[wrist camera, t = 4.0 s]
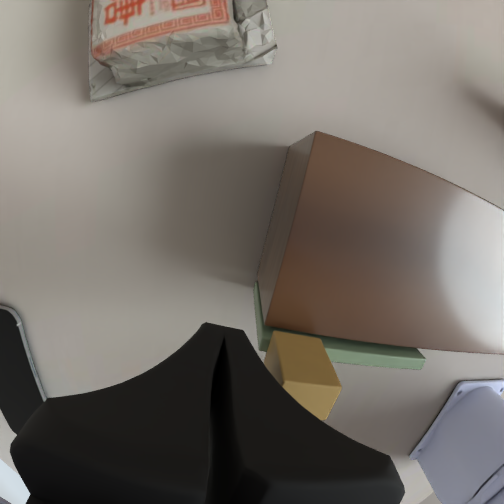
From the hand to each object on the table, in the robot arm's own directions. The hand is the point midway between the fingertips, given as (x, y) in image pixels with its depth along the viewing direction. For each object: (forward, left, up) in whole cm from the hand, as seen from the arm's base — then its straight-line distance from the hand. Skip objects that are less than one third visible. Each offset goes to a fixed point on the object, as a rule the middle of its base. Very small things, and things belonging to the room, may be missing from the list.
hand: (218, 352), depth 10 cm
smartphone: (-14, +16, -7) cm, 23 cm away
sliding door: (0, -5, -7) cm, 9 cm away
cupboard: (+4, -9, -7) cm, 12 cm away
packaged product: (+18, +8, -8) cm, 21 cm away
